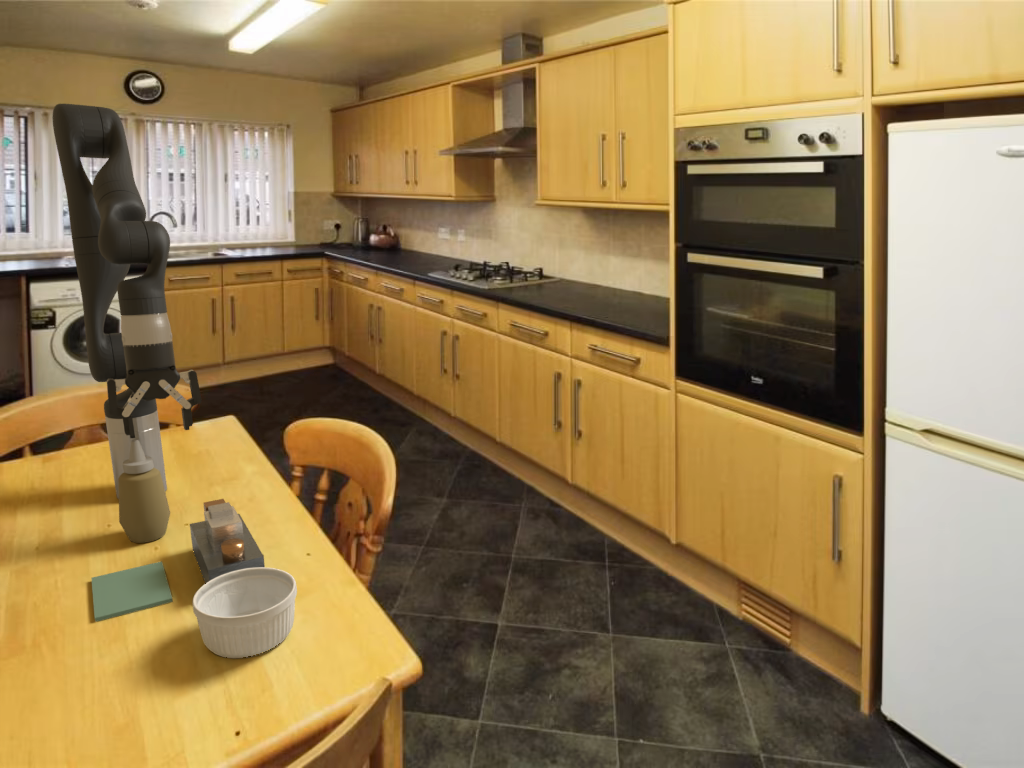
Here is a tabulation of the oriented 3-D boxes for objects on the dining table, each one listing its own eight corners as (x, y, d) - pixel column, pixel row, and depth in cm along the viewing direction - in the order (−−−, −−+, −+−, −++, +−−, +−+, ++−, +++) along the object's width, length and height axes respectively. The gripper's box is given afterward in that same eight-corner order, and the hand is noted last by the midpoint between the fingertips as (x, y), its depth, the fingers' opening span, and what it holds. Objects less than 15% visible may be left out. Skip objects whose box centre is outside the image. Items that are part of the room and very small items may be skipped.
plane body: (192, 550, 119) (187, 504, 117) (241, 539, 123) (237, 494, 121) (211, 600, 104) (205, 547, 102) (266, 585, 109) (261, 535, 106)
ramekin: (266, 598, 105) (262, 556, 103) (319, 631, 97) (316, 586, 95) (179, 639, 95) (173, 593, 93) (230, 679, 87) (225, 630, 85)
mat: (91, 581, 109) (91, 577, 109) (162, 564, 115) (161, 561, 114) (95, 621, 99) (94, 618, 99) (172, 601, 104) (172, 598, 104)
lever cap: (206, 534, 114) (203, 506, 113) (235, 527, 117) (232, 500, 115) (214, 551, 109) (210, 522, 107) (244, 544, 111) (241, 515, 110)
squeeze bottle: (159, 522, 130) (148, 430, 125) (181, 534, 125) (169, 439, 120) (114, 537, 124) (100, 441, 119) (134, 551, 119) (120, 452, 114)
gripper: (190, 335, 125) (200, 423, 128) (99, 343, 118) (112, 436, 121) (196, 338, 119) (207, 430, 122) (100, 346, 112) (114, 444, 114)
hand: (159, 433), depth 121 cm, fingers open, 8 cm apart
